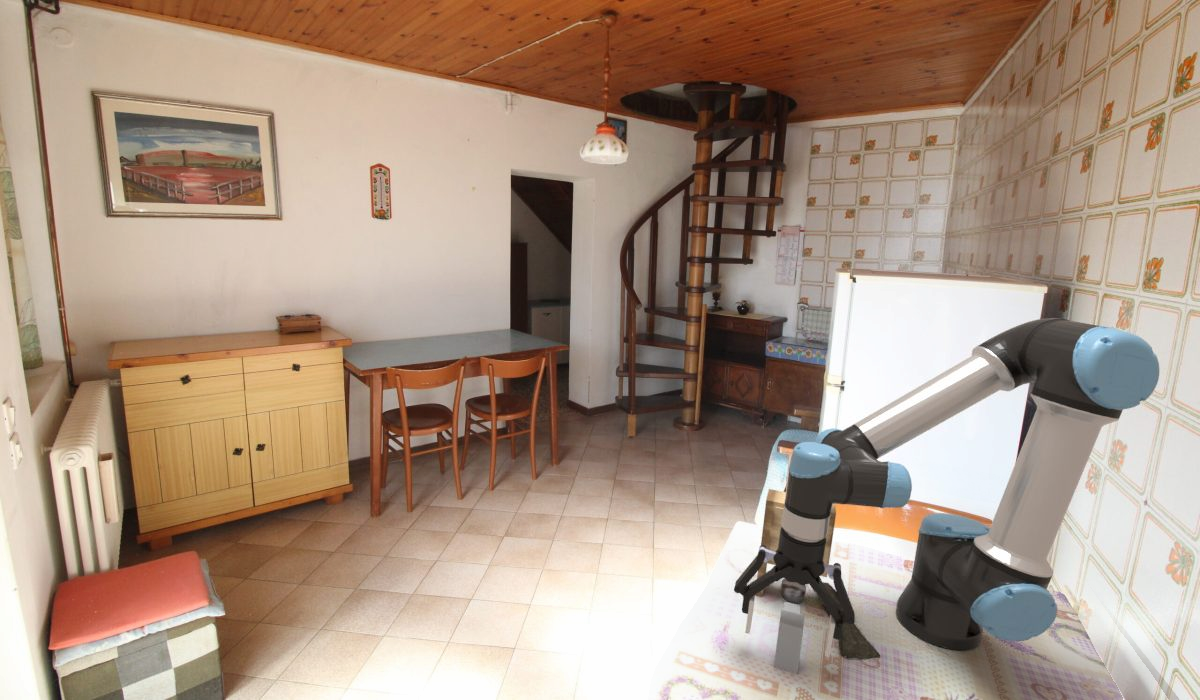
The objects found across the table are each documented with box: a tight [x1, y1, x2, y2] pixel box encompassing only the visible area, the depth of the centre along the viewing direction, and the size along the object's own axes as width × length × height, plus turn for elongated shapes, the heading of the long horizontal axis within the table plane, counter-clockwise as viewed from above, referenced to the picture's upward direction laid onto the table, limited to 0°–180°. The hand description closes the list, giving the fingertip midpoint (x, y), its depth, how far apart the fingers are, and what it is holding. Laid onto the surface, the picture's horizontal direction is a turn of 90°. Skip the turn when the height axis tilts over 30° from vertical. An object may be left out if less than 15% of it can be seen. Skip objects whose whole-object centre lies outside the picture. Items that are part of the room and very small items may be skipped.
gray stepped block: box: [773, 601, 805, 675], centre depth 109 cm, size 4×17×9 cm, turn 159°
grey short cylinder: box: [779, 578, 807, 605], centre depth 124 cm, size 5×5×3 cm
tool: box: [822, 581, 882, 661], centre depth 116 cm, size 21×8×3 cm, turn 2°
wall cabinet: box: [755, 488, 837, 598], centre depth 122 cm, size 14×7×22 cm, turn 69°
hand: (786, 640), depth 103 cm, fingers open, 13 cm apart
